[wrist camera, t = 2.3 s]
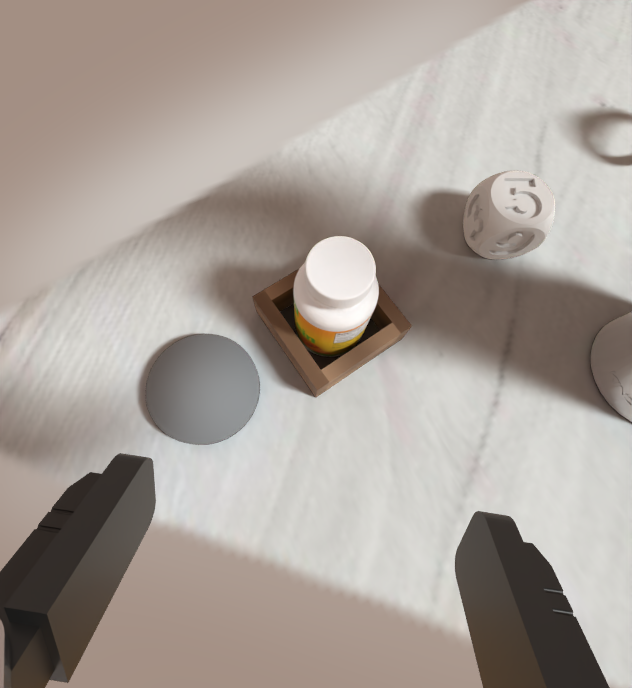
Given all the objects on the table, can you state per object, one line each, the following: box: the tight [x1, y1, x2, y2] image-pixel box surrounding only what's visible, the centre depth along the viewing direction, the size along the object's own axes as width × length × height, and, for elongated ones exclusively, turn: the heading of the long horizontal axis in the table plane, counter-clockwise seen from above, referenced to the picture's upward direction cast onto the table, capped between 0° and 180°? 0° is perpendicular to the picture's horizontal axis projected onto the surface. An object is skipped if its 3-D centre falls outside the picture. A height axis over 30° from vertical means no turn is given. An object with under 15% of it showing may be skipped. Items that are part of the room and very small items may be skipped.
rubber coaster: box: [146, 334, 260, 445], centre depth 29 cm, size 8×8×1 cm
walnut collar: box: [253, 268, 412, 397], centre depth 30 cm, size 8×8×3 cm
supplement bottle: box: [293, 236, 379, 357], centre depth 27 cm, size 5×5×10 cm
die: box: [463, 171, 555, 260], centre depth 32 cm, size 5×5×5 cm
